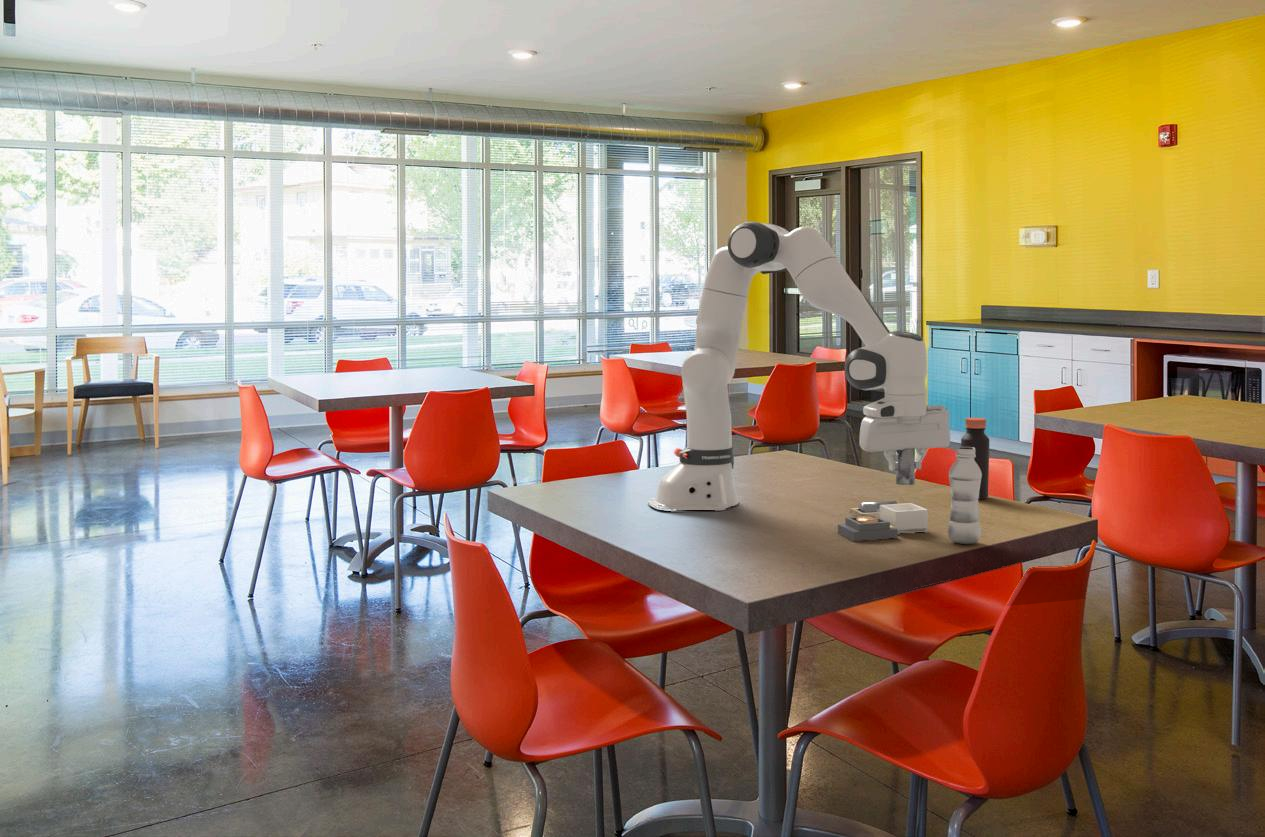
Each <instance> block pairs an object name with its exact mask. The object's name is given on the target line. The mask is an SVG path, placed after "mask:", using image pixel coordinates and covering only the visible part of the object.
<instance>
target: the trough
mask: <svg viewBox="0 0 1265 837" xmlns="http://www.w3.org/2000/svg"><path fill="white" fill-rule="evenodd" d="M858 508H859V507H853V508H850V509H849V510H850V511H849V517H860V516H877V517H880V512H871V513H863V512H861V511H858Z"/></svg>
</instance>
